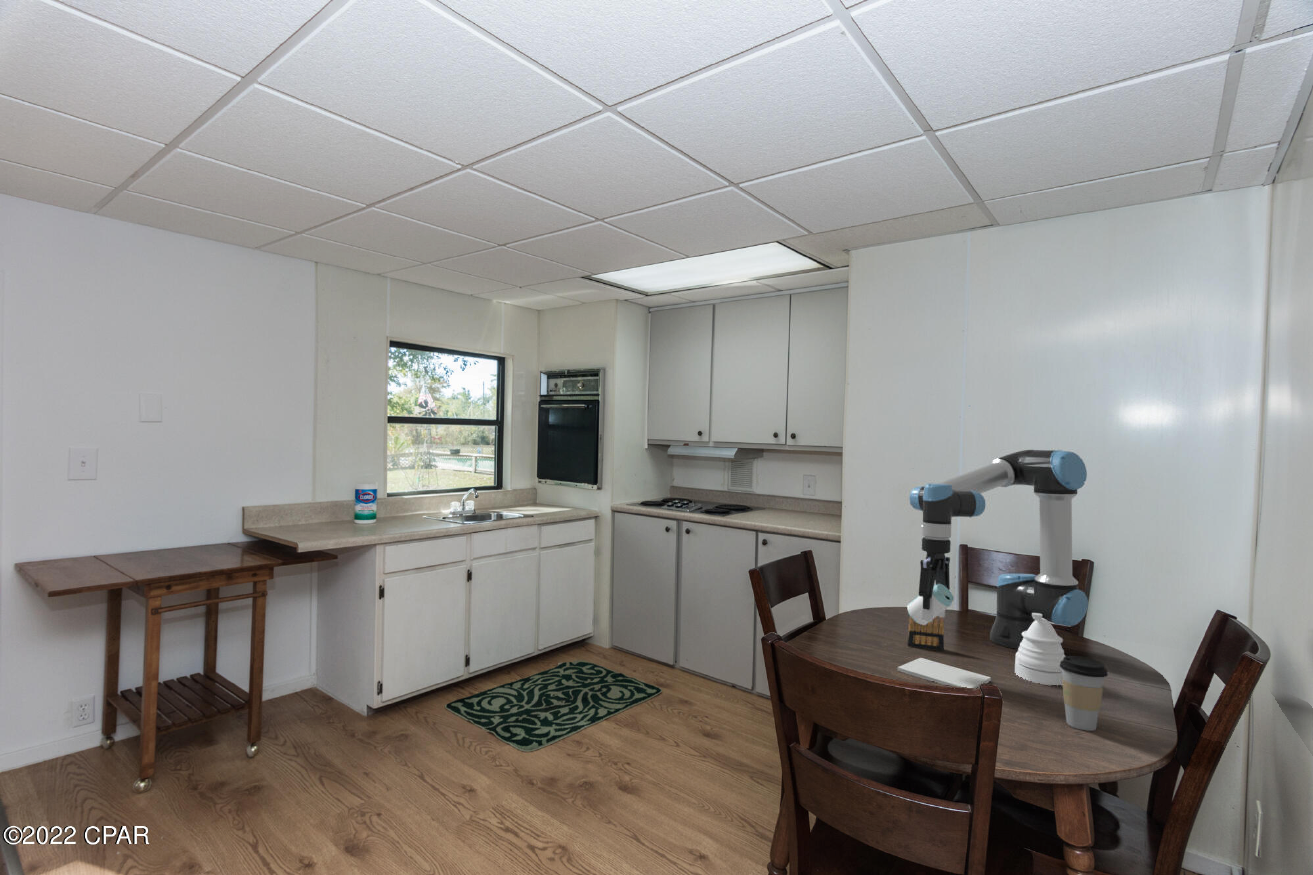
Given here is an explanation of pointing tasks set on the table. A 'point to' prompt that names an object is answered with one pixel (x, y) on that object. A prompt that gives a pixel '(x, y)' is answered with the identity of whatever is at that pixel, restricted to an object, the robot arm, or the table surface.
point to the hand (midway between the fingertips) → (933, 618)
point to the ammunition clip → (926, 635)
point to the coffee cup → (1082, 691)
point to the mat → (943, 673)
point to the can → (940, 603)
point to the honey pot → (1040, 653)
